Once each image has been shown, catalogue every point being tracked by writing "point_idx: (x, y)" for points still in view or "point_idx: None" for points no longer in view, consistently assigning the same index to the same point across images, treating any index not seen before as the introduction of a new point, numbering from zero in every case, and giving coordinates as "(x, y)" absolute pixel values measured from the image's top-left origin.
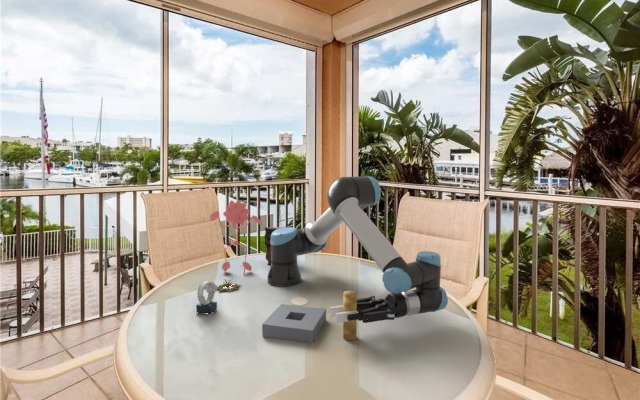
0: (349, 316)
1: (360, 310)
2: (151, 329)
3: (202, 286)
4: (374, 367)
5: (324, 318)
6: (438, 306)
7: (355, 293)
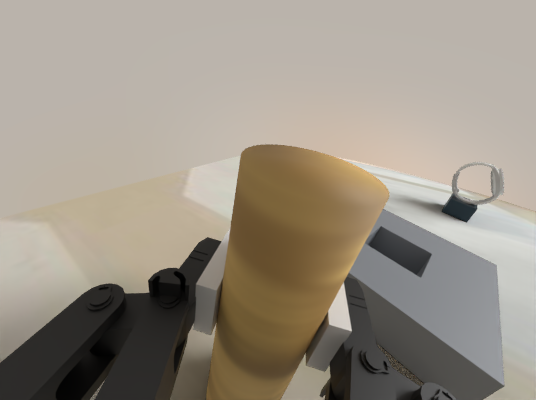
0: (204, 241)
1: (154, 275)
2: (390, 175)
3: (471, 163)
4: (4, 303)
5: (435, 372)
6: None
7: (277, 178)
